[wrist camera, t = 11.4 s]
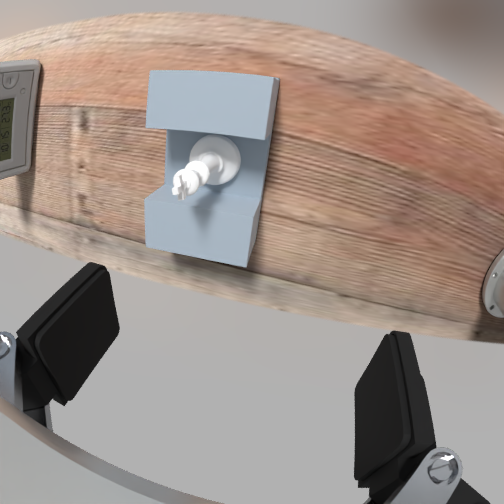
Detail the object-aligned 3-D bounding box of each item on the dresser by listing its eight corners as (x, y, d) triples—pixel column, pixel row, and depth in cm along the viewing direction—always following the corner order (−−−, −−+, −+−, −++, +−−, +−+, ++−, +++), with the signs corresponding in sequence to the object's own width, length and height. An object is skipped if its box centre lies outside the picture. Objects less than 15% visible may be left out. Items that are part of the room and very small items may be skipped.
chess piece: (195, 186, 29) (151, 228, 21) (187, 138, 27) (135, 161, 19) (244, 181, 28) (217, 223, 20) (237, 131, 26) (204, 149, 18)
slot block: (279, 79, 25) (274, 74, 19) (255, 240, 33) (245, 269, 28) (178, 71, 25) (150, 67, 20) (169, 224, 34) (146, 249, 29)
